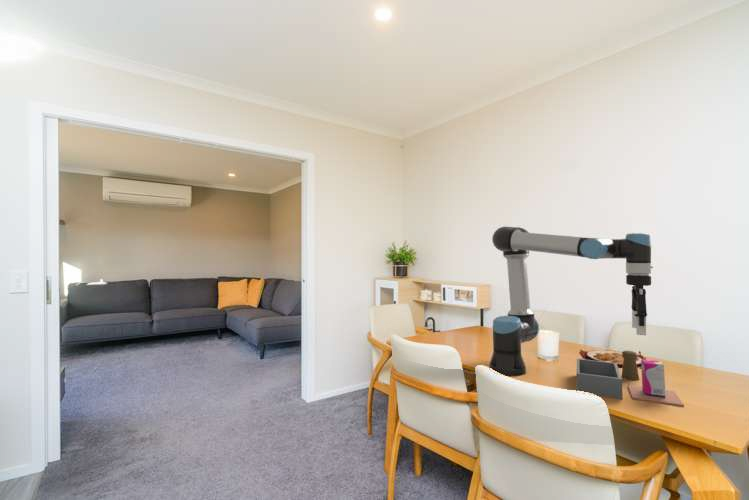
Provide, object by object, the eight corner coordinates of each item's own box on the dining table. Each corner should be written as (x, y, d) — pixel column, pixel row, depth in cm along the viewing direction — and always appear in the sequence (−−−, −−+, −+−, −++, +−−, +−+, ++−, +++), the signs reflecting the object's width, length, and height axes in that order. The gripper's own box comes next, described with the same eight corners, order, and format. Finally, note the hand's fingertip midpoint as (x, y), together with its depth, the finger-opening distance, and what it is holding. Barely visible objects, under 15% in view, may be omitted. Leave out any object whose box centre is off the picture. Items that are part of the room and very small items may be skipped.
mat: (632, 398, 126) (632, 397, 126) (627, 386, 138) (627, 384, 138) (683, 406, 119) (683, 404, 119) (674, 392, 131) (674, 391, 131)
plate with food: (580, 353, 188) (579, 346, 188) (641, 357, 177) (641, 350, 177) (586, 367, 166) (585, 359, 166) (656, 372, 155) (656, 364, 155)
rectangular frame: (576, 392, 132) (576, 373, 133) (577, 375, 152) (576, 358, 152) (622, 399, 125) (622, 379, 126) (616, 380, 145) (616, 362, 145)
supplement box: (661, 392, 130) (660, 360, 130) (665, 398, 125) (664, 365, 125) (641, 389, 132) (640, 358, 133) (645, 395, 127) (644, 362, 127)
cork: (642, 380, 144) (641, 353, 144) (625, 379, 145) (624, 352, 145) (634, 375, 150) (633, 349, 150) (618, 375, 151) (617, 349, 151)
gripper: (656, 276, 121) (657, 339, 121) (646, 273, 142) (646, 326, 142) (629, 276, 125) (630, 336, 124) (623, 272, 146) (623, 324, 146)
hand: (638, 331), depth 133 cm, fingers open, 13 cm apart
